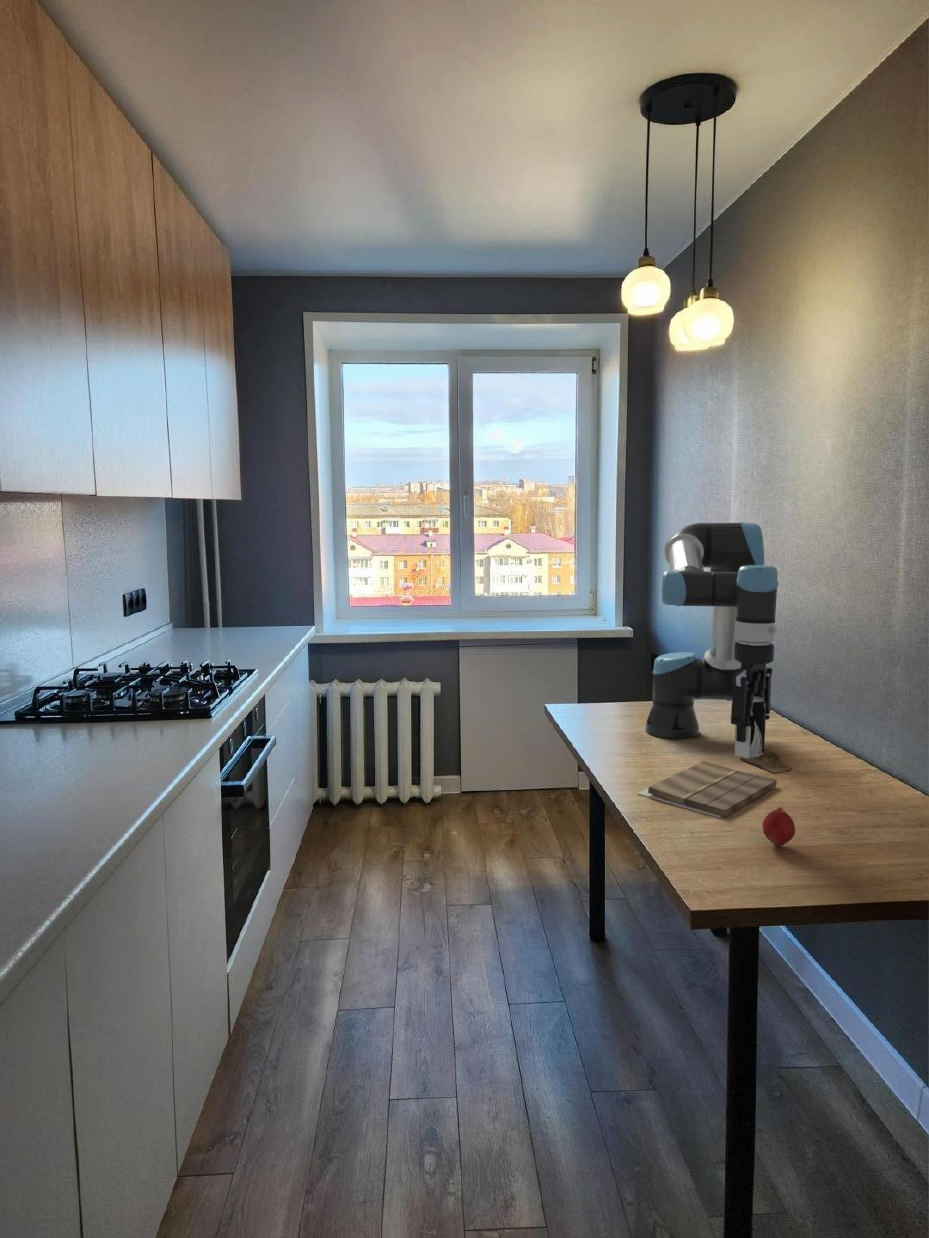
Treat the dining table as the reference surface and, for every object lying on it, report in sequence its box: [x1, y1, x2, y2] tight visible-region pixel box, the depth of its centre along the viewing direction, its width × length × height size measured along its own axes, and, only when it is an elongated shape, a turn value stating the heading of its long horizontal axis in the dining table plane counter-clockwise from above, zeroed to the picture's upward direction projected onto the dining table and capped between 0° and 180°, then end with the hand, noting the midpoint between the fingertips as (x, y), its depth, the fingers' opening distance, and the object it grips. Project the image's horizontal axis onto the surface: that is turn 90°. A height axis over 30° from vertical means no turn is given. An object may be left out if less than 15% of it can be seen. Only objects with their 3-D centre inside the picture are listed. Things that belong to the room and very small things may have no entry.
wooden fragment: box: [740, 748, 793, 775], centre depth 203 cm, size 26×11×1 cm, turn 177°
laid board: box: [686, 771, 778, 818], centre depth 174 cm, size 26×9×2 cm, turn 135°
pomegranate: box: [761, 806, 796, 848], centre depth 148 cm, size 6×6×8 cm
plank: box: [647, 760, 739, 805], centre depth 181 cm, size 26×9×2 cm, turn 135°
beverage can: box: [734, 696, 767, 757], centre depth 158 cm, size 6×6×12 cm
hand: (749, 752), depth 159 cm, fingers closed on beverage can, 6 cm apart
